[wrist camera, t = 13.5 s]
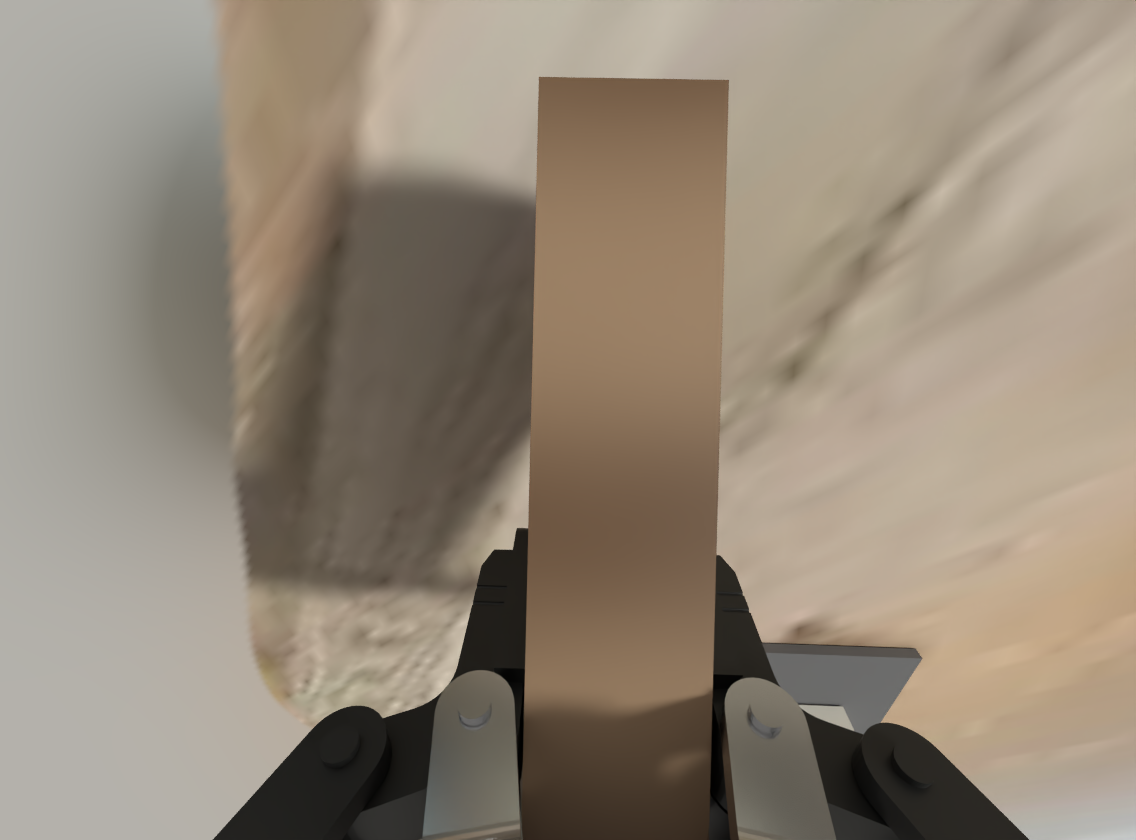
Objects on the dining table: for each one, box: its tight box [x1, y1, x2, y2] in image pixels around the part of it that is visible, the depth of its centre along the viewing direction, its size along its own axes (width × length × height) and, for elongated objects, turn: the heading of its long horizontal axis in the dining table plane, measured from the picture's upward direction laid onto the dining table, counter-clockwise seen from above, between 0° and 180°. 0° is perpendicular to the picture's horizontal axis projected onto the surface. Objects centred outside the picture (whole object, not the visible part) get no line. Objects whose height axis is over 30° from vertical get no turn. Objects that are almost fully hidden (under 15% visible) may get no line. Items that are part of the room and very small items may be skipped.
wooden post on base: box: [419, 77, 729, 840], centre depth 10 cm, size 15×8×6 cm, turn 178°
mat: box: [762, 643, 922, 734], centre depth 26 cm, size 14×12×1 cm
